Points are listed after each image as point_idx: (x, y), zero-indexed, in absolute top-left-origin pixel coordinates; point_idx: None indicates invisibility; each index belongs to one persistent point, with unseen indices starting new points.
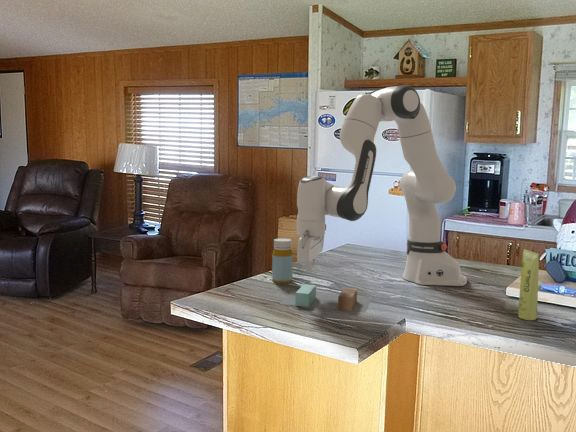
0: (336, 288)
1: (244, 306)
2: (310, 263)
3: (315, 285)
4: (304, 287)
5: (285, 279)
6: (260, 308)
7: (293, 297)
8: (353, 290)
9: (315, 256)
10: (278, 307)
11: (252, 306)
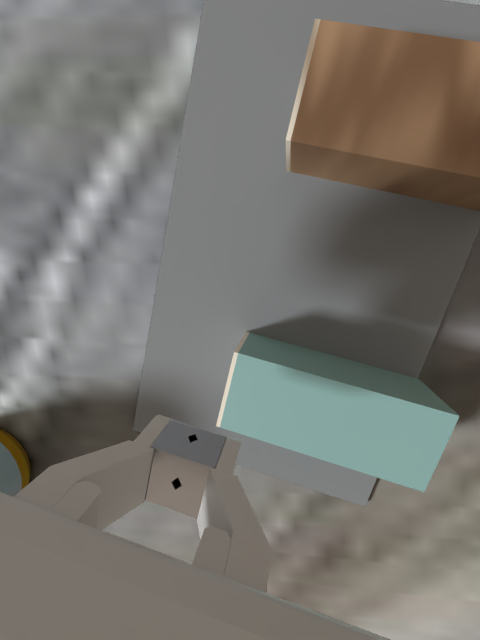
0: (44, 214)
1: (377, 630)
2: (257, 545)
3: (236, 356)
4: (291, 428)
5: (10, 466)
6: (410, 578)
7: (249, 438)
8: (370, 54)
9: (142, 566)
10: (396, 507)
11: (378, 603)
